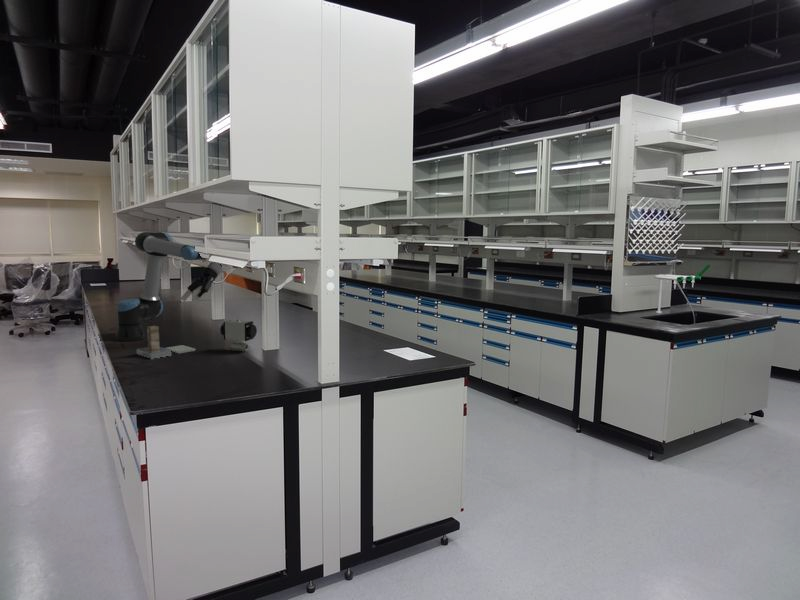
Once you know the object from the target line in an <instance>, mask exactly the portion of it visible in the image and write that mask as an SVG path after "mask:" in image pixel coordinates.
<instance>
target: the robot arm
mask: <svg viewBox="0 0 800 600" xmlns="http://www.w3.org/2000/svg"><path fill="white" fill-rule="evenodd" d="M134 245H135V247H136V248H137V249H138V250H140V251H141V252H144V253H145V254H147V257H148V258H147V263H146V270H145V276H144V283H143V290H142V293H141V294H140V295H139V297H138V298H130V299H129V298H126V299H123V300H120V301H119V302H118V303H117V307H116V309H117V321H118V322H117V323H118V325H117V326H118V327H117V331H116V334H115V340H116V341H117V342H133V341H134V340H135V341H140V339H141V340H144V339H145V333H144V330H143V328H142V325H141V321H142V320H148V319H154V318H157V317H159V316H160V315H161V314H162V312H163V310H164V304H163V301H162V300H161V297H160V296H159V292H160V288H161V287H160V286H161V280H162V273H163V267H164V261H165V258H167V257H168V256H173V257H177V258H182V259H183V260H185V261H199V260H201V261H202V260H204V261H205V260H206V259H205V258H202V257H201V256H200V254H199V253H198V252H196V251H195V246H196V245H195V246H194V245H189V244H185V243H180V242H175V241H174V240H173V238H172V236H171V235H170V234H169V233H167V232H161V231H144V232H140V233H139V234H137V236H136V237H135V240H134ZM222 271H223V270H222V265H221V264H218V263H211V262H209V264H208V265H207V267H205V269H203V270H202V274H203V276H201V275H200V276H199V277H197V279H195V280H194V281H193V282H192V283H191V284H190V285H188V286H187V287H186V289H187V290H186V291H185V293H184V294H182V296H181V297H180V299H181V300H182V301H183V302H185V303H186V301H187V299H188V298H189V297H190V296H191V295H192V294H193V293H194V291H195V290H197V289H198V288H199V287H201V288H200V289H199V291H197V293H196V294H194V296H193V297H192V298H191V300H192V301H193V303H195V304H197V303H198V301H199V300H200V299H201V298H202V296H203V295H204V294H206V293H208V292H209V290H210V288H211V287H212V284H213V282H214V281H215V280H216V279H217V277H218V276H219V275H220V274H221V273H222ZM135 341H134V342H135Z"/></svg>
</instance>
